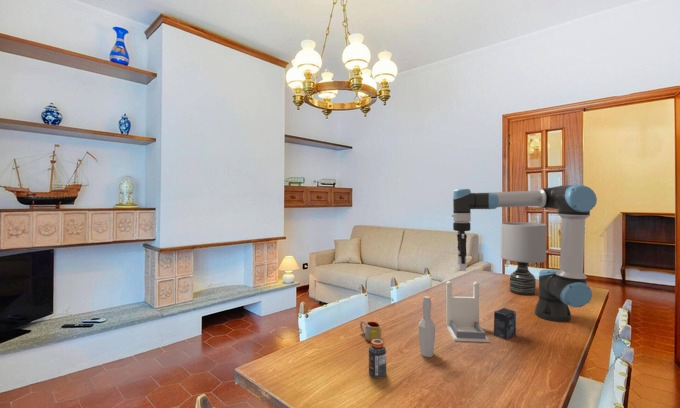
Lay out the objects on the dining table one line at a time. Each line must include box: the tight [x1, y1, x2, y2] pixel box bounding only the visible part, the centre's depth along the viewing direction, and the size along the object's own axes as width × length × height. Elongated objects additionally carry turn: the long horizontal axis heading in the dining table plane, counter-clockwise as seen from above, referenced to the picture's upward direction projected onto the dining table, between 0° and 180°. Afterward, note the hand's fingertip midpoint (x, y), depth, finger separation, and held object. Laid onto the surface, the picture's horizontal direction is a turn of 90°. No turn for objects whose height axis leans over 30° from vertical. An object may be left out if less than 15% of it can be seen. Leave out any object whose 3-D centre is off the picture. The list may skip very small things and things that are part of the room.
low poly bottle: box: [418, 295, 436, 358], centre depth 124 cm, size 6×6×22 cm
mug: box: [359, 320, 383, 343], centre depth 140 cm, size 12×7×7 cm, turn 33°
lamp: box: [500, 221, 547, 297], centre depth 201 cm, size 24×24×42 cm
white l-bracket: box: [445, 280, 490, 343], centre depth 142 cm, size 15×16×21 cm
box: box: [493, 307, 517, 340], centre depth 141 cm, size 8×6×11 cm
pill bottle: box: [368, 339, 387, 379], centre depth 111 cm, size 6×6×11 cm
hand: (461, 267), depth 152 cm, fingers open, 13 cm apart
